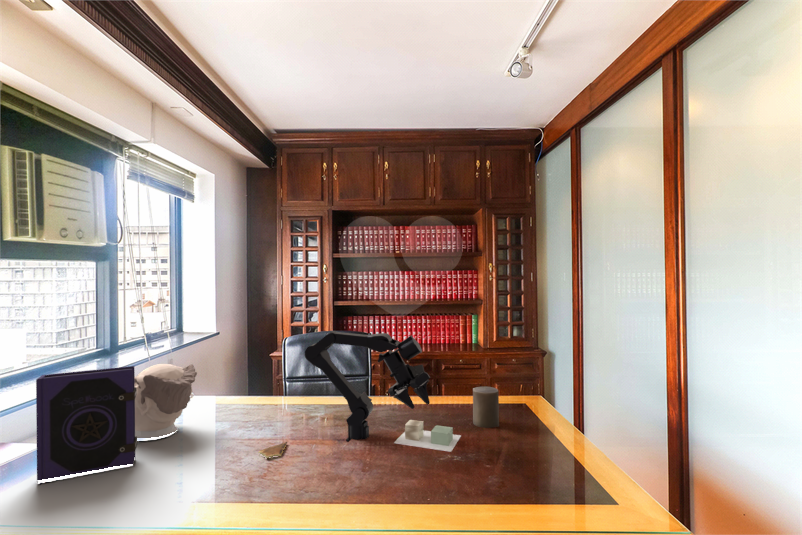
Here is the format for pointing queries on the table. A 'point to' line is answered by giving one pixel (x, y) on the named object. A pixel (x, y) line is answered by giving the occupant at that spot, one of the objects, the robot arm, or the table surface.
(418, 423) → the cream block
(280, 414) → the table surface
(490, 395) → the pillar candle
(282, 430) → the table surface
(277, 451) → the shard
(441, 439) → the green block
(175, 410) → the bust
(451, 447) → the pale grey board
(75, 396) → the book
